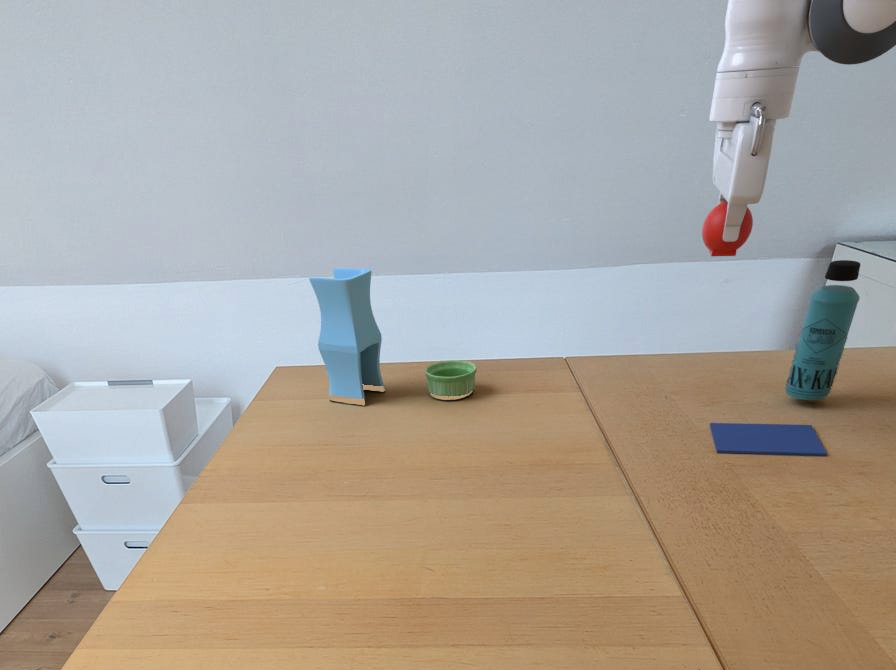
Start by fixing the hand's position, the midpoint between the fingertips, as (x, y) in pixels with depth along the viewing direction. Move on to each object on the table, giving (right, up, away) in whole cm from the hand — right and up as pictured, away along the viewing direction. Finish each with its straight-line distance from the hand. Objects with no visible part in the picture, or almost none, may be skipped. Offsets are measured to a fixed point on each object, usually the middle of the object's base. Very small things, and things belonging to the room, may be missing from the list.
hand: (725, 235), depth 91 cm
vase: (-51, -9, +35) cm, 63 cm away
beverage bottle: (+21, -15, +19) cm, 32 cm away
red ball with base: (0, -2, +1) cm, 2 cm away
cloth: (+10, -24, +10) cm, 28 cm away
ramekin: (-34, -9, +33) cm, 48 cm away
